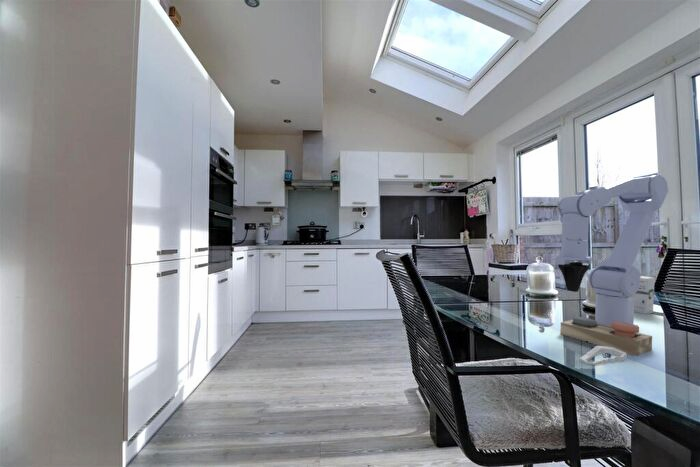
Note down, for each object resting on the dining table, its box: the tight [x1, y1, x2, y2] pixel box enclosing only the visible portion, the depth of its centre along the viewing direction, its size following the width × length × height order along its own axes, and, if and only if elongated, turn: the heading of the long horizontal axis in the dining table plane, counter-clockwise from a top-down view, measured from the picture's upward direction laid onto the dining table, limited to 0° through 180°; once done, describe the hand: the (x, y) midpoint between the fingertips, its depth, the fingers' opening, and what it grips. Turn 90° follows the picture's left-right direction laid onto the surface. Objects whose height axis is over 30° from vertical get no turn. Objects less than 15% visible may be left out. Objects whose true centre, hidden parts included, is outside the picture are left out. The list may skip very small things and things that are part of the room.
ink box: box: [630, 275, 655, 315], centre depth 105 cm, size 9×5×12 cm, turn 27°
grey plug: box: [572, 316, 597, 328], centre depth 77 cm, size 5×5×4 cm
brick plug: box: [611, 322, 640, 338], centre depth 70 cm, size 5×5×4 cm
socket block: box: [559, 319, 653, 357], centre depth 74 cm, size 8×15×3 cm, turn 28°
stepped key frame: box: [579, 345, 628, 366], centre depth 64 cm, size 13×5×2 cm, turn 125°
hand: (572, 291), depth 82 cm, fingers closed
